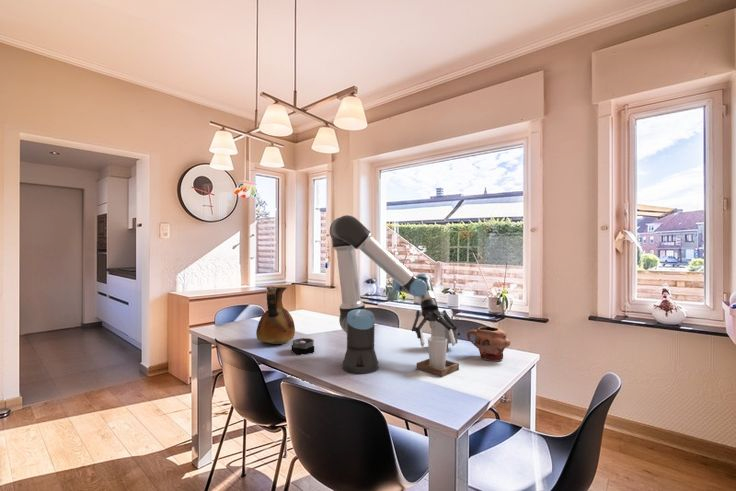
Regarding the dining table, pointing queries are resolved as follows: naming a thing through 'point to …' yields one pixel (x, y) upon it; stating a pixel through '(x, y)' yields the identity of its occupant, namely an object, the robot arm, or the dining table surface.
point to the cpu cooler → (303, 346)
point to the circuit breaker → (441, 331)
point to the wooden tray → (426, 367)
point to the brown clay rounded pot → (490, 342)
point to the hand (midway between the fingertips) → (438, 344)
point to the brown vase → (275, 319)
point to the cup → (437, 351)
